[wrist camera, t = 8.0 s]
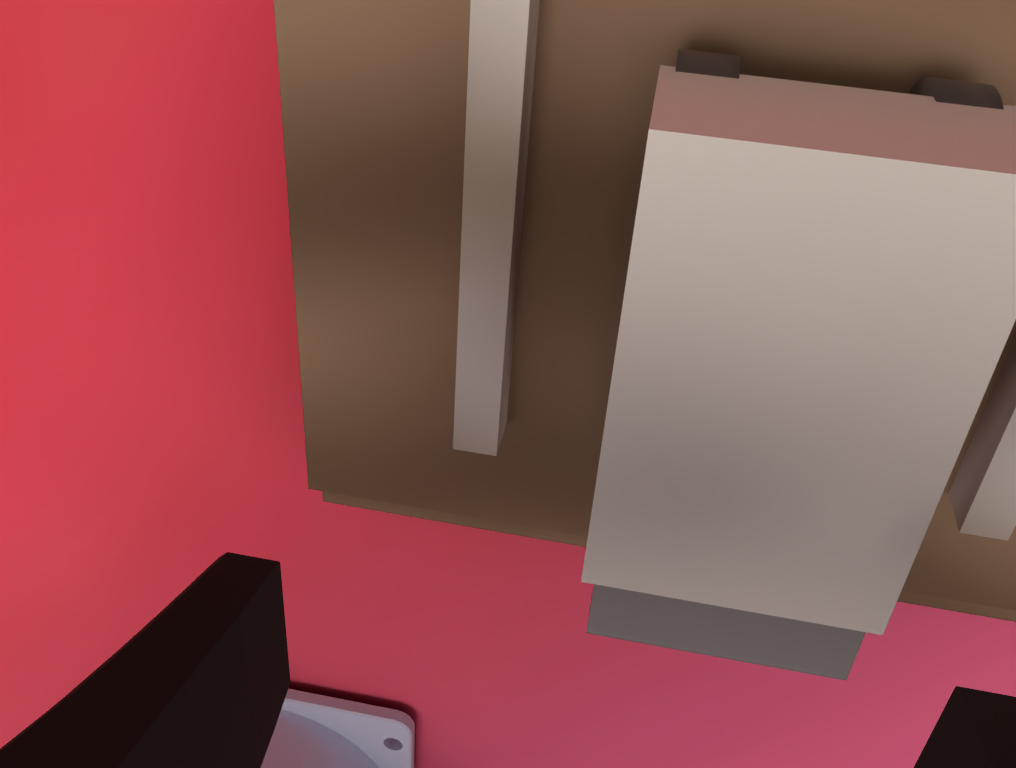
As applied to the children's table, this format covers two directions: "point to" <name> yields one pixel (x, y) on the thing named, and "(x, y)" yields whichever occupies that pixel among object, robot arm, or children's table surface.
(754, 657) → the beige box with tabs
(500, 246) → the dock
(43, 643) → the children's table surface
